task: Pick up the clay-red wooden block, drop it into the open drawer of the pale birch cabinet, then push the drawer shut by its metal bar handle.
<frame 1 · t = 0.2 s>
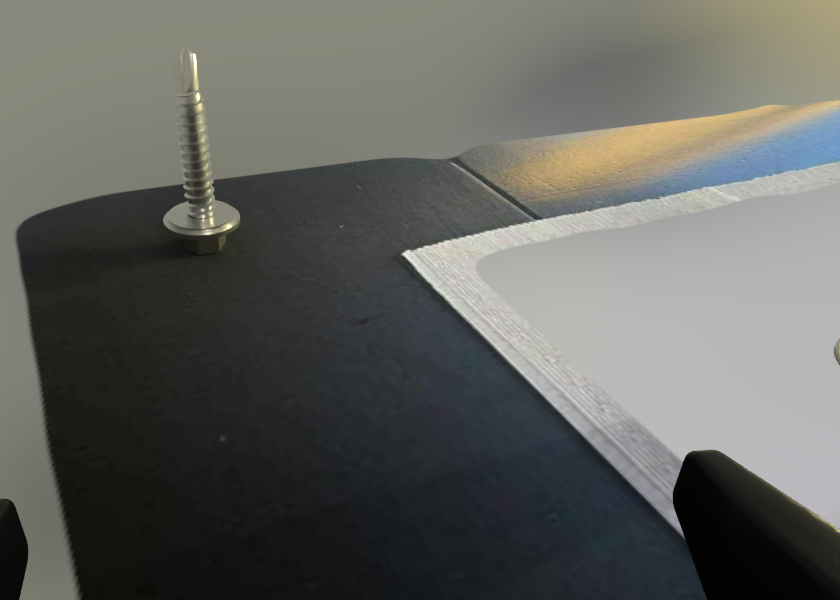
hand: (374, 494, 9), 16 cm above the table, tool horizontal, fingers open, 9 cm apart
screw: (205, 248, 47), on the table
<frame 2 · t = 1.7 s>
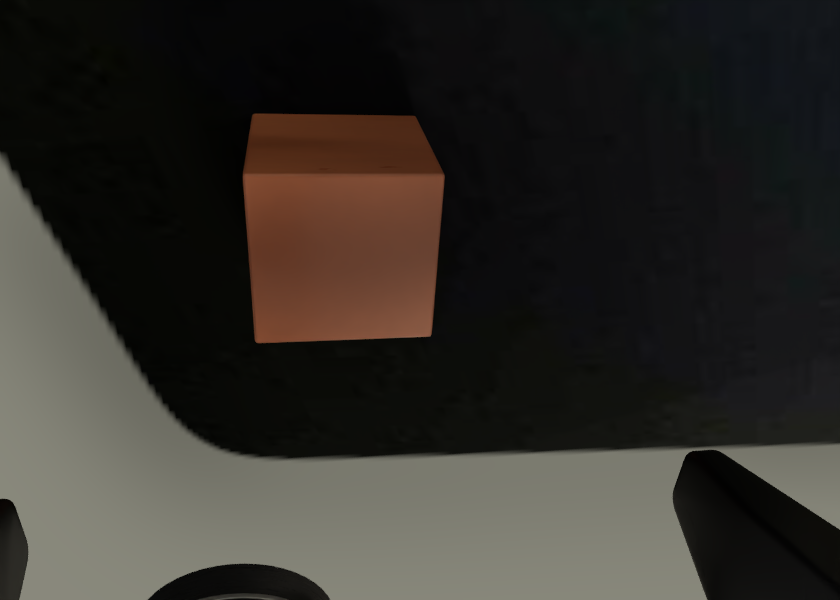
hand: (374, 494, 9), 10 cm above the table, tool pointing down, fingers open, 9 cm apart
block: (335, 190, 18), on the table
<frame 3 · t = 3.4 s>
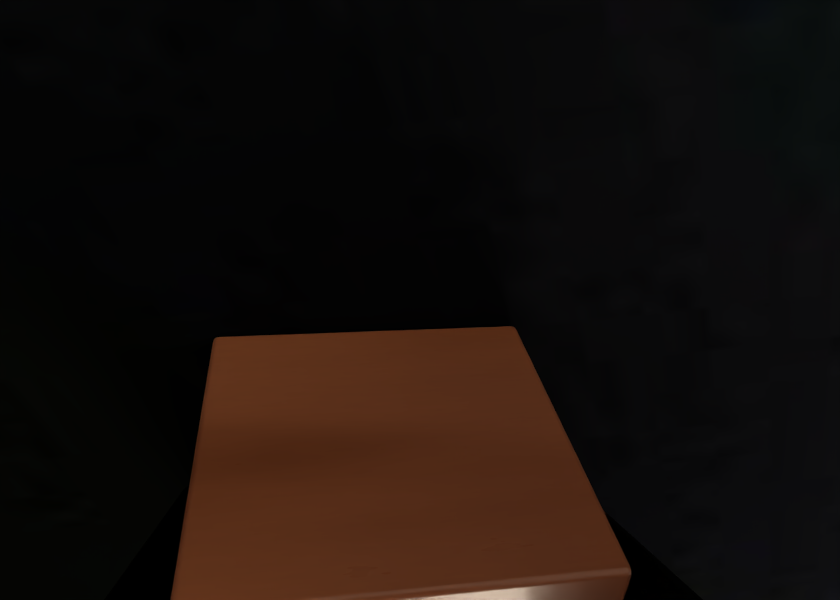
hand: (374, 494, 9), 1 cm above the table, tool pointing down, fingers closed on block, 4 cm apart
block: (366, 442, 10), on the table, touching gripper
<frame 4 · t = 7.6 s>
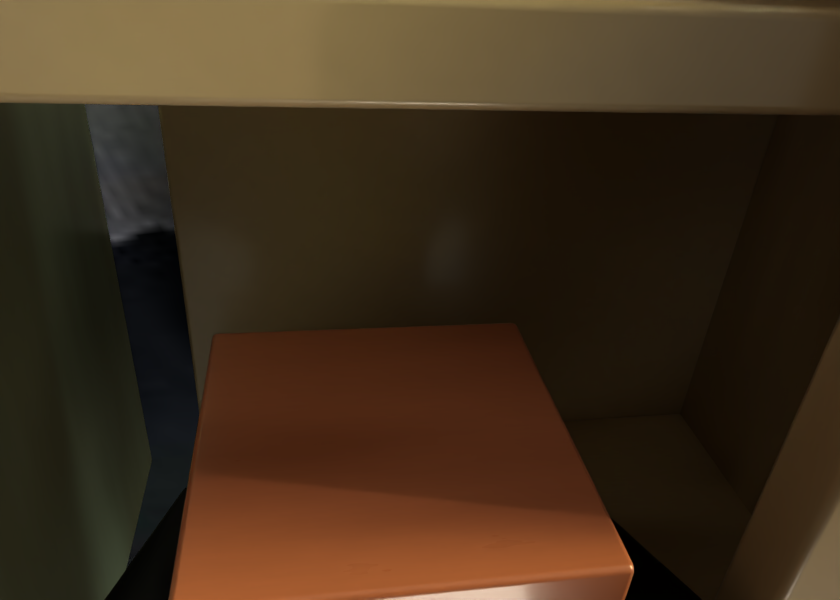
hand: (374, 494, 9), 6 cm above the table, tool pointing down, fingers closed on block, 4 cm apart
block: (366, 439, 10), point 5 cm above the table, touching gripper
drawer: (310, 333, 10), point 5 cm above the table, slide at 8.0 cm
when the fingers open (9 cm above the table, at t = 20.4 s): block drops 6 cm, resting on drawer.
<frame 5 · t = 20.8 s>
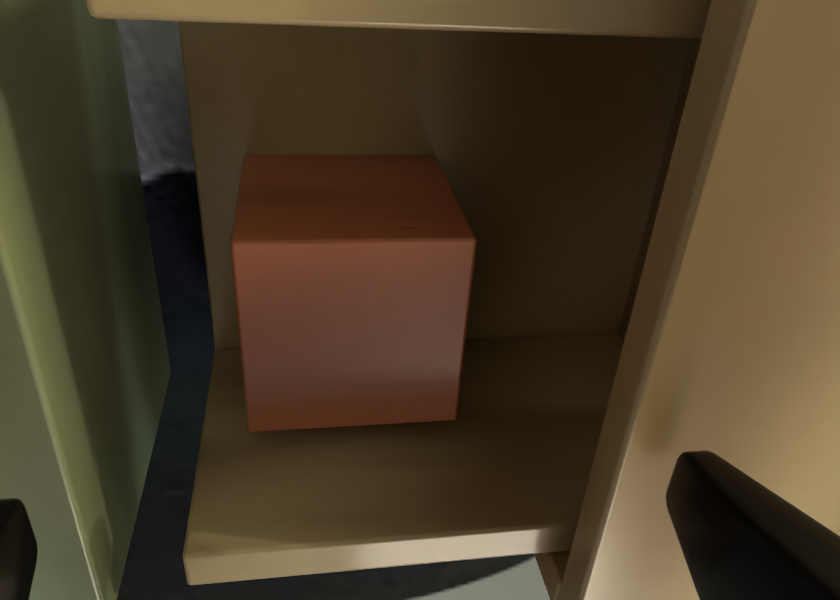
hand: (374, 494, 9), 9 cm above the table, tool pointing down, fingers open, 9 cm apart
block: (342, 239, 16), point 2 cm above the table, touching drawer
drawer: (302, 234, 13), point 5 cm above the table, slide at 8.0 cm, touching block
cabinet: (757, 151, 18), on the table
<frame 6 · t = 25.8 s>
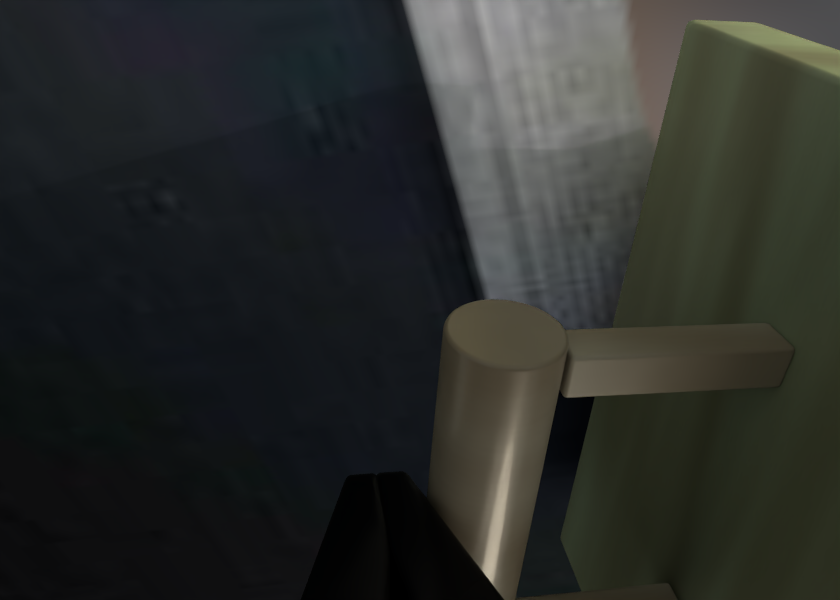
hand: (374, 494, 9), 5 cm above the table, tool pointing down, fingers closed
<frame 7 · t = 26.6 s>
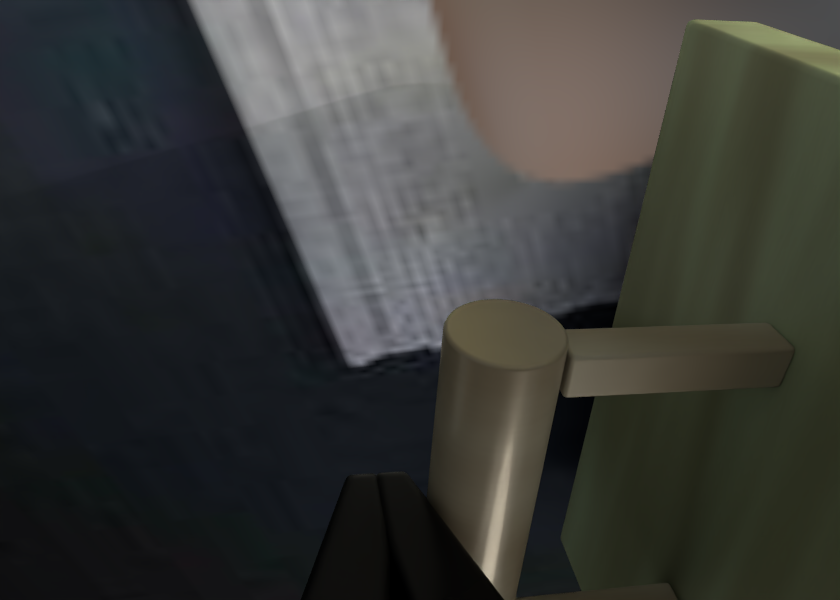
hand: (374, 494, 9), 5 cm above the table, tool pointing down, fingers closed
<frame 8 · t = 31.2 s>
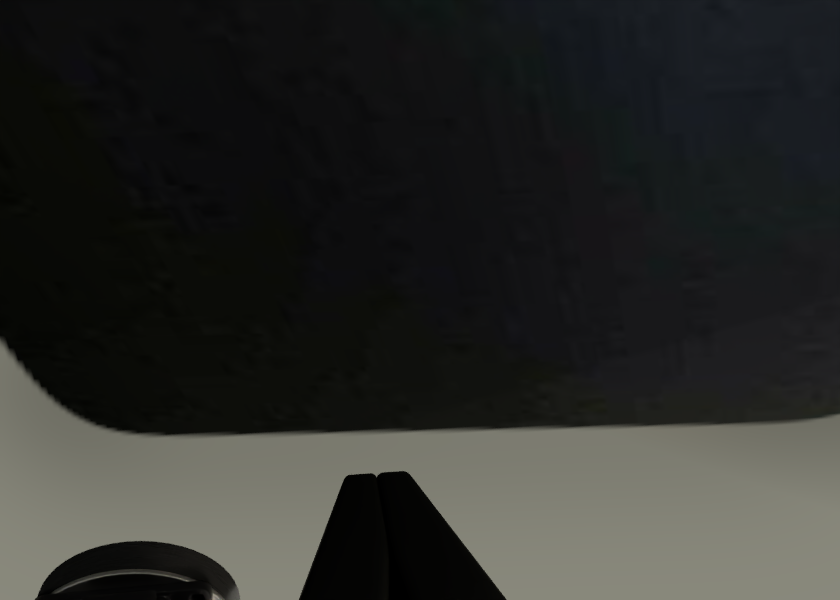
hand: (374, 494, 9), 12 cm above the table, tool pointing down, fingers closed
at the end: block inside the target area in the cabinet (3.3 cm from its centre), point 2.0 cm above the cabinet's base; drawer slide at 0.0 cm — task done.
